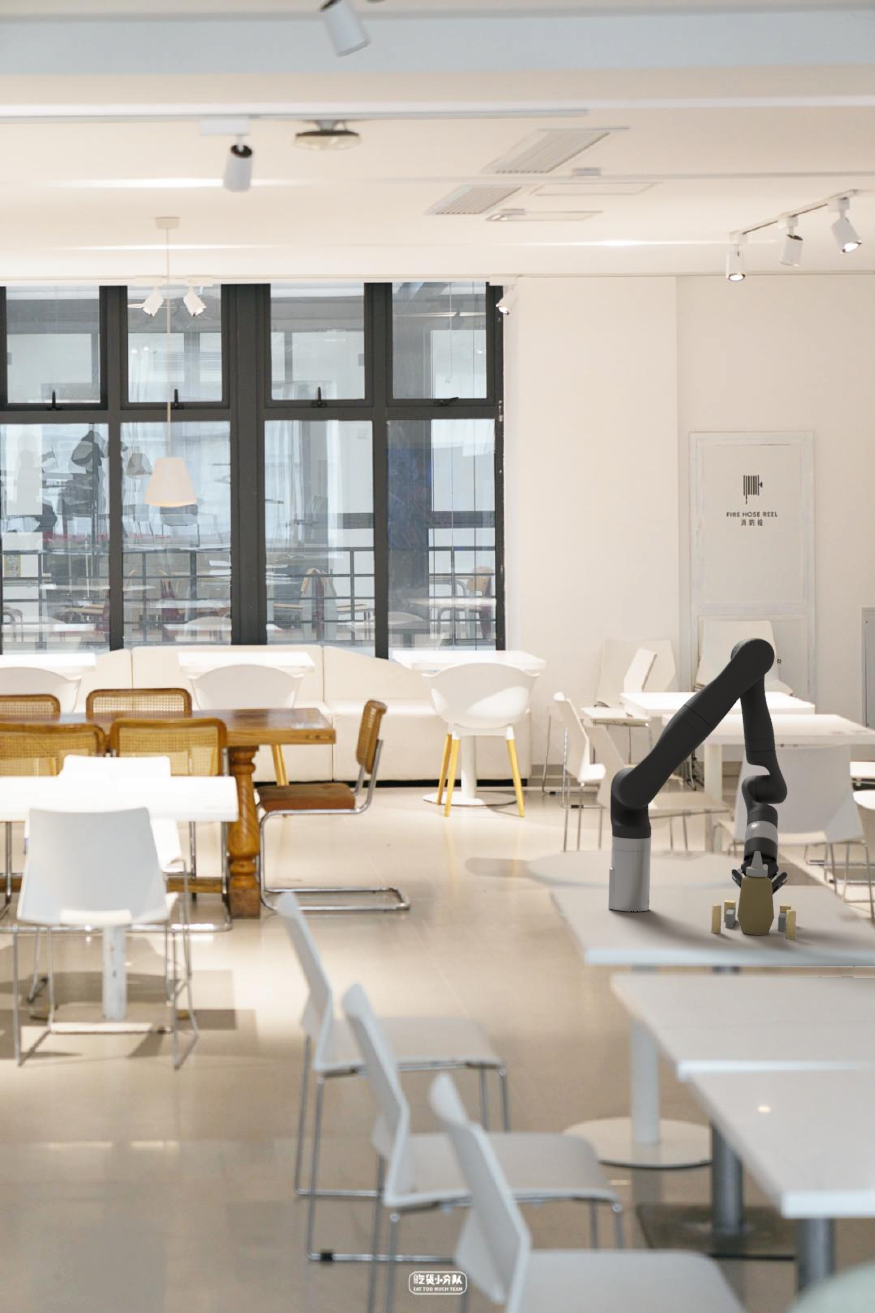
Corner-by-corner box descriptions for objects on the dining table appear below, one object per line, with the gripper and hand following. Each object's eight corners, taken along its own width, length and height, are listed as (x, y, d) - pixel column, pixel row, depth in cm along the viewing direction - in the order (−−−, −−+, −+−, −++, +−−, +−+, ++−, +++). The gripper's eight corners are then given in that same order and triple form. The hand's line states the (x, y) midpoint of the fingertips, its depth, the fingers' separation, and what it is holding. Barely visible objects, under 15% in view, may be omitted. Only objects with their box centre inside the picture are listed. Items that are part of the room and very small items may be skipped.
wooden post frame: (711, 933, 335) (711, 906, 335) (717, 918, 353) (718, 892, 353) (795, 939, 331) (795, 911, 331) (797, 924, 348) (798, 898, 348)
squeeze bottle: (768, 938, 331) (771, 855, 331) (732, 934, 335) (734, 852, 334) (777, 932, 338) (780, 851, 338) (741, 928, 342) (744, 847, 342)
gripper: (731, 834, 351) (726, 896, 339) (790, 837, 347) (787, 900, 336) (732, 853, 356) (727, 916, 344) (790, 856, 353) (787, 919, 341)
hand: (757, 908), depth 340 cm, fingers closed
